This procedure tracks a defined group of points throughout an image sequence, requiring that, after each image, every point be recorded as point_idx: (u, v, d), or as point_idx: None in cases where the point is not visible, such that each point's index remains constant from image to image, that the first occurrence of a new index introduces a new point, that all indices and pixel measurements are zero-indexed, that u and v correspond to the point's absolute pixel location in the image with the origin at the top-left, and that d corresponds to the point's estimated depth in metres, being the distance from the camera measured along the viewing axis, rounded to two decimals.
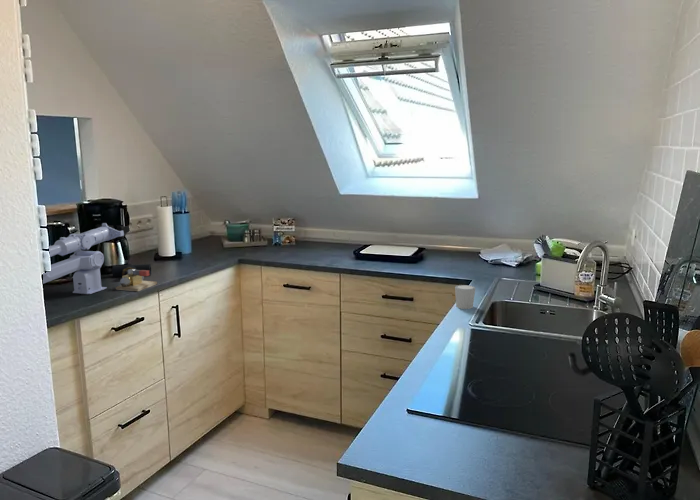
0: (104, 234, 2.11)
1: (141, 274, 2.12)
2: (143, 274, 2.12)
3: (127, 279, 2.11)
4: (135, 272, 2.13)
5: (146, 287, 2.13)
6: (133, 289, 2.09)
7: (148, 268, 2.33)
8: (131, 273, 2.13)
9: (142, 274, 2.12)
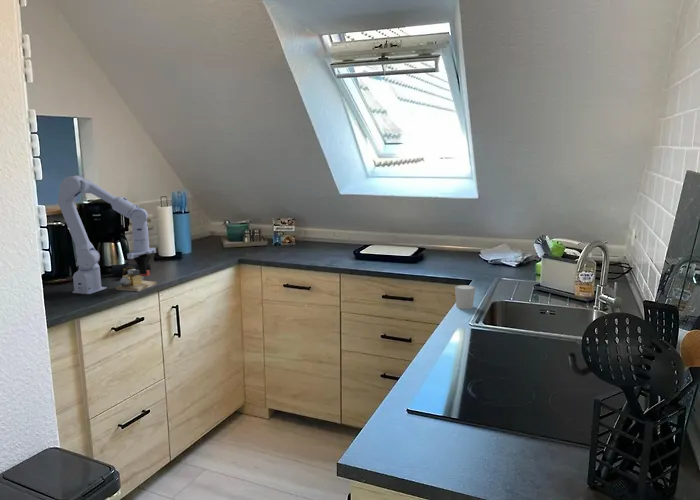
0: (137, 242, 2.07)
1: (142, 274, 2.13)
2: (144, 274, 2.12)
3: (127, 279, 2.11)
4: (135, 272, 2.13)
5: (146, 287, 2.13)
6: (133, 289, 2.09)
7: (148, 267, 2.34)
8: (131, 273, 2.13)
9: (143, 274, 2.13)
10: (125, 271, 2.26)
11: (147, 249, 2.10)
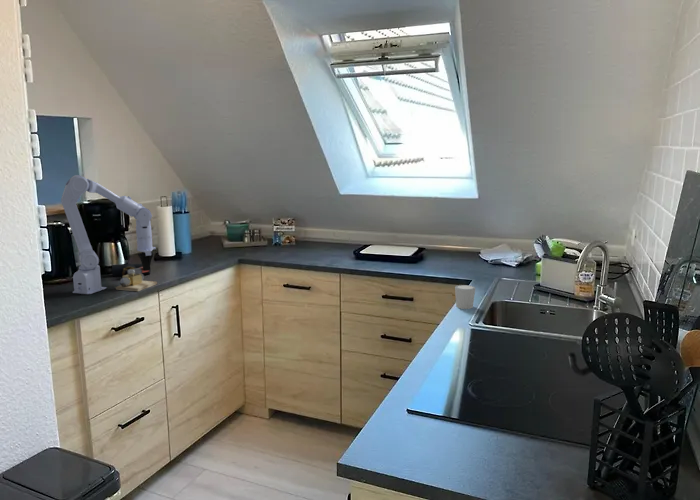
0: (147, 240, 2.14)
1: None
2: None
3: (127, 279, 2.11)
4: (137, 270, 2.16)
5: (146, 287, 2.13)
6: (133, 289, 2.09)
7: None
8: (135, 272, 2.15)
9: None
10: (125, 271, 2.26)
11: None
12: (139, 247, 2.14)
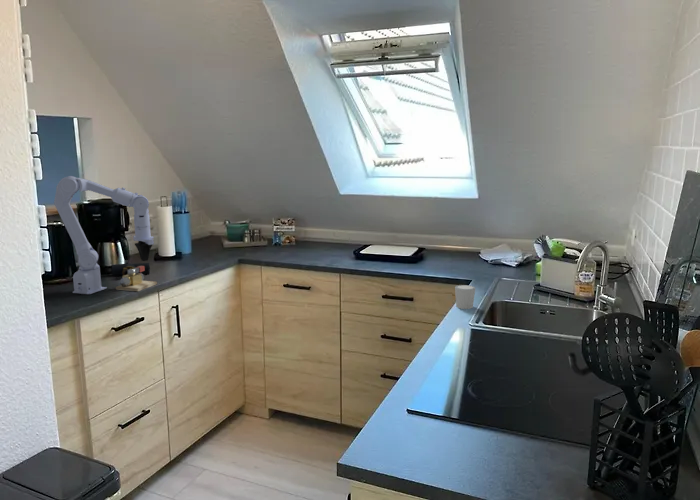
0: (146, 229, 2.10)
1: (141, 270, 2.20)
2: (142, 269, 2.20)
3: (127, 279, 2.11)
4: (136, 270, 2.17)
5: (146, 287, 2.13)
6: (133, 289, 2.09)
7: (147, 267, 2.36)
8: (135, 272, 2.15)
9: (142, 270, 2.20)
10: (125, 270, 2.27)
11: None
12: (138, 236, 2.10)
